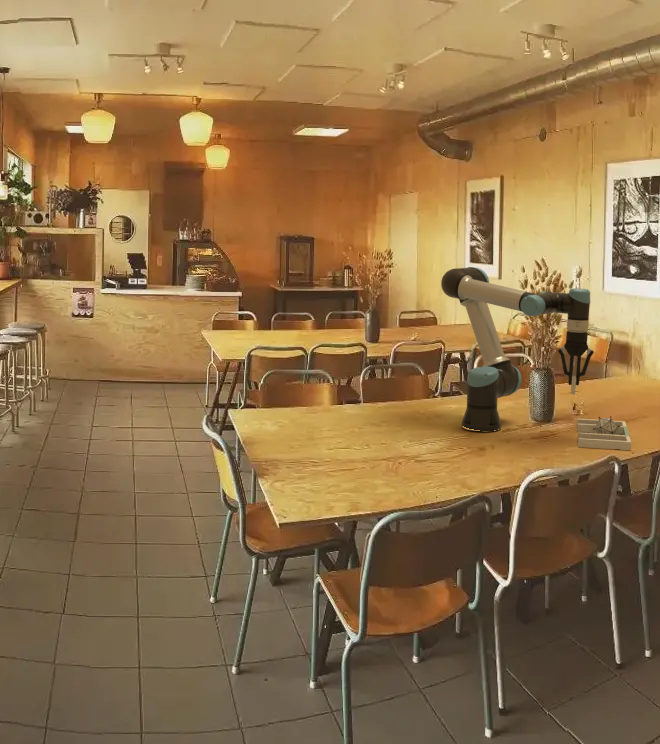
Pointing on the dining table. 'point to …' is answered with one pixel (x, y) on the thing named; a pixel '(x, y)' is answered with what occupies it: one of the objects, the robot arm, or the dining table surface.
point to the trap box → (602, 436)
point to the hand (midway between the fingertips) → (573, 393)
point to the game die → (606, 426)
